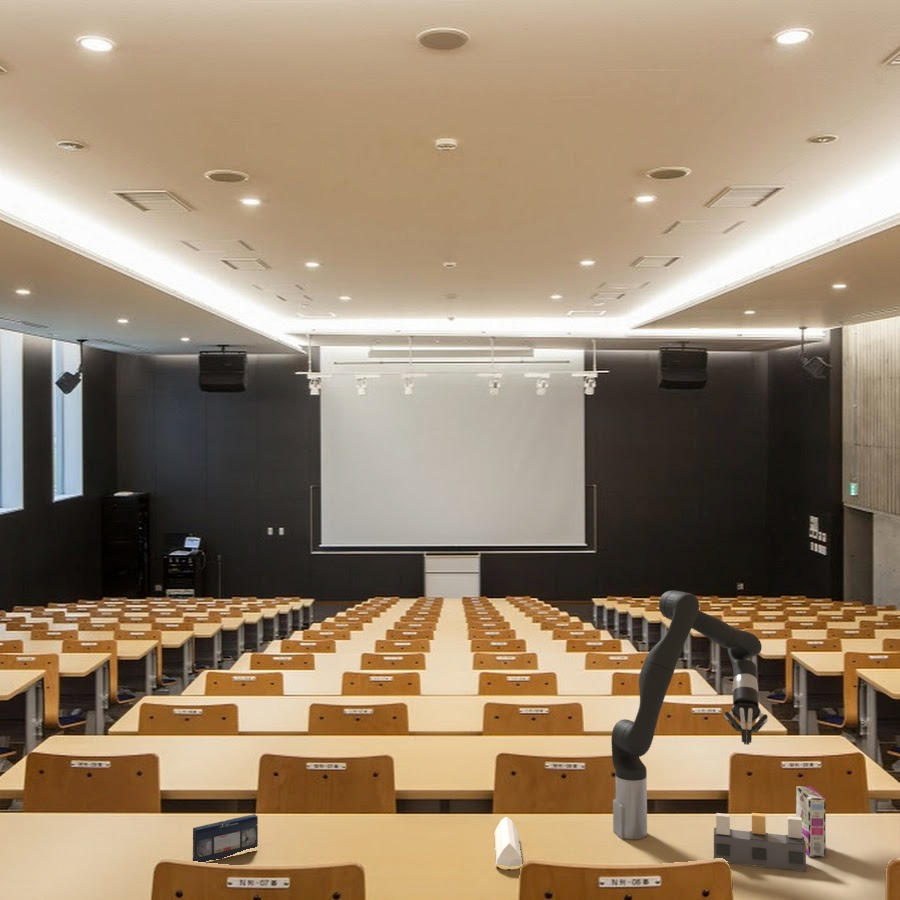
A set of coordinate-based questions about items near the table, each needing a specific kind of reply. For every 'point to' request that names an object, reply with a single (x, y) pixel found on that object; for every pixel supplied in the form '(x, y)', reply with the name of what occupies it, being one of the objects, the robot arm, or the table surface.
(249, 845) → the vhs cassette tape
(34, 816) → the table surface
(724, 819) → the switch left
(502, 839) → the crystal
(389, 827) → the table surface
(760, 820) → the switch middle
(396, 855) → the table surface
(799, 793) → the candy bar box
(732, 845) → the power strip
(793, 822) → the switch right
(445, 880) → the table surface
